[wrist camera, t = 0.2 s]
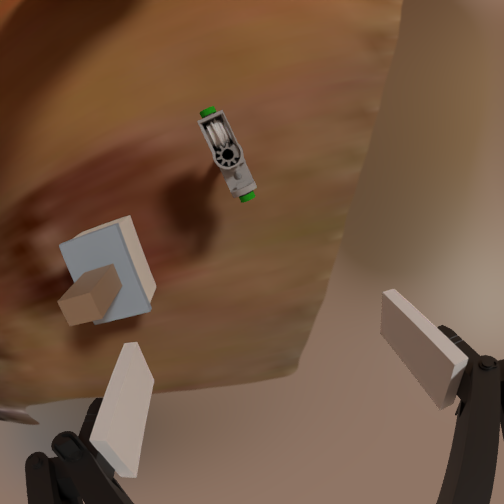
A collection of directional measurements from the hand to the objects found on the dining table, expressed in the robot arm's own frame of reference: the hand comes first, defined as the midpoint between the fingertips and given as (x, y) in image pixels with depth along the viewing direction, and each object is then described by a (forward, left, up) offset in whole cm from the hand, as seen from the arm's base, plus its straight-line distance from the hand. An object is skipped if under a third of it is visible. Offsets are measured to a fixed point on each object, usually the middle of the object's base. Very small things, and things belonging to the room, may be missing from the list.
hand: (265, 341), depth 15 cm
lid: (+1, -18, -22) cm, 28 cm away
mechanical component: (-9, +1, -28) cm, 29 cm away
